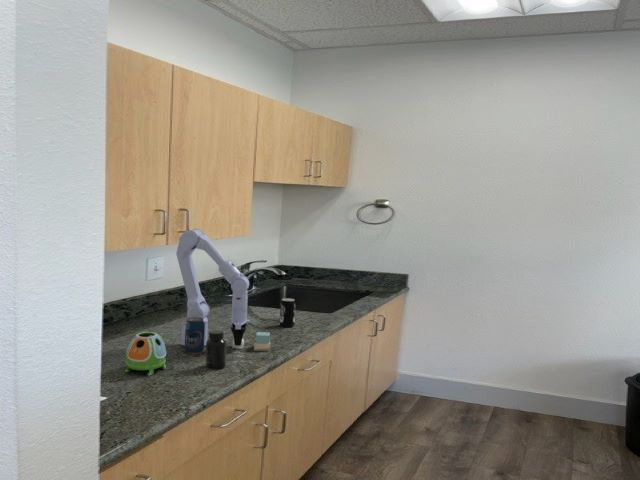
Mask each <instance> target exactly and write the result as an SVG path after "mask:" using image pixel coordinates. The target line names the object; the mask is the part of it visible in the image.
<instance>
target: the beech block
mask: <svg viewBox="0 0 640 480" xmlns="http://www.w3.org/2000/svg"><path fill="white" fill-rule="evenodd" d="M253 351H255V352H256V351H260V352H262V351H263V352H270V351H271V341H270V342H269V344H268V343H256V339H254V341H253Z"/></svg>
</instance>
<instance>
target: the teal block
mask: <svg viewBox="0 0 640 480" xmlns="http://www.w3.org/2000/svg"><path fill="white" fill-rule="evenodd" d="M270 335H271V332H264V331H261V332H259V331H257V332H256V335H255V336H256V337H255V340H256V343H268V344H269V342H270V343H271V339H270V337H271V336H270Z"/></svg>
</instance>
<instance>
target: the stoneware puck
mask: <svg viewBox="0 0 640 480" xmlns="http://www.w3.org/2000/svg"><path fill="white" fill-rule="evenodd" d="M231 341H232V344H231V345H232V346H231V347H232V349H234V348H235V350H242V349H244V348H245V339H244V338H242V343H241V346H235V342H234V338H233V339H232V340H231Z"/></svg>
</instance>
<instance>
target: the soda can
mask: <svg viewBox="0 0 640 480" xmlns="http://www.w3.org/2000/svg"><path fill="white" fill-rule="evenodd" d="M185 322H186V323H184V324H185V346H184V350H185V351H186V353H188V354H194V355H195V354H201V353H202V352H203V351H204V350H205V346H204V335H205V323H204V321H203V319H202V318H189V319H188V318H187V321H185Z"/></svg>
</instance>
